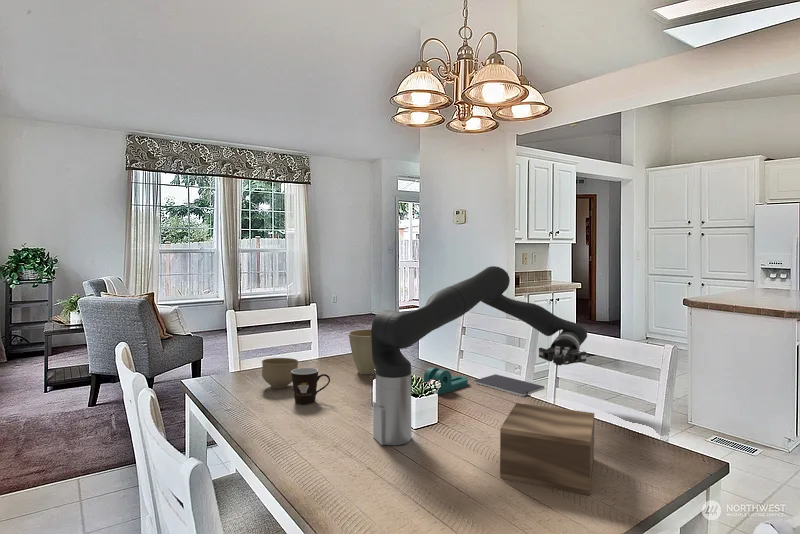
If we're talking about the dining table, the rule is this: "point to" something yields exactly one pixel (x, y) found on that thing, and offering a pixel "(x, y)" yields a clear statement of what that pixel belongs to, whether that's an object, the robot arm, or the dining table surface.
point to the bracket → (445, 379)
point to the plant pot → (362, 350)
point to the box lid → (550, 424)
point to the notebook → (509, 385)
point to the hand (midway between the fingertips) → (558, 361)
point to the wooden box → (547, 462)
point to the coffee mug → (306, 384)
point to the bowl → (278, 371)
